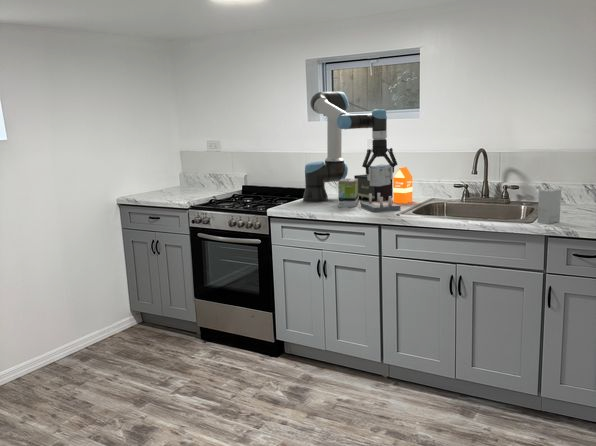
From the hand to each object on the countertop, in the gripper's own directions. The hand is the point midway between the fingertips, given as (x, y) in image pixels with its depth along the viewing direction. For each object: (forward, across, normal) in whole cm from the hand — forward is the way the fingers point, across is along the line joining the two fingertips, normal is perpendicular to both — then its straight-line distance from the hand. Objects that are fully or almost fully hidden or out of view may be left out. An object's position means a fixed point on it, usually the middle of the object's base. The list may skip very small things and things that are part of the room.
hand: (380, 179), depth 298 cm
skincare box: (+17, +52, -69) cm, 87 cm away
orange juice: (+16, +21, +16) cm, 31 cm away
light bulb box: (+3, 0, 0) cm, 3 cm away
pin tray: (+16, 0, 0) cm, 16 cm away
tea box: (+16, -11, +20) cm, 28 cm away
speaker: (+16, +10, +34) cm, 39 cm away
